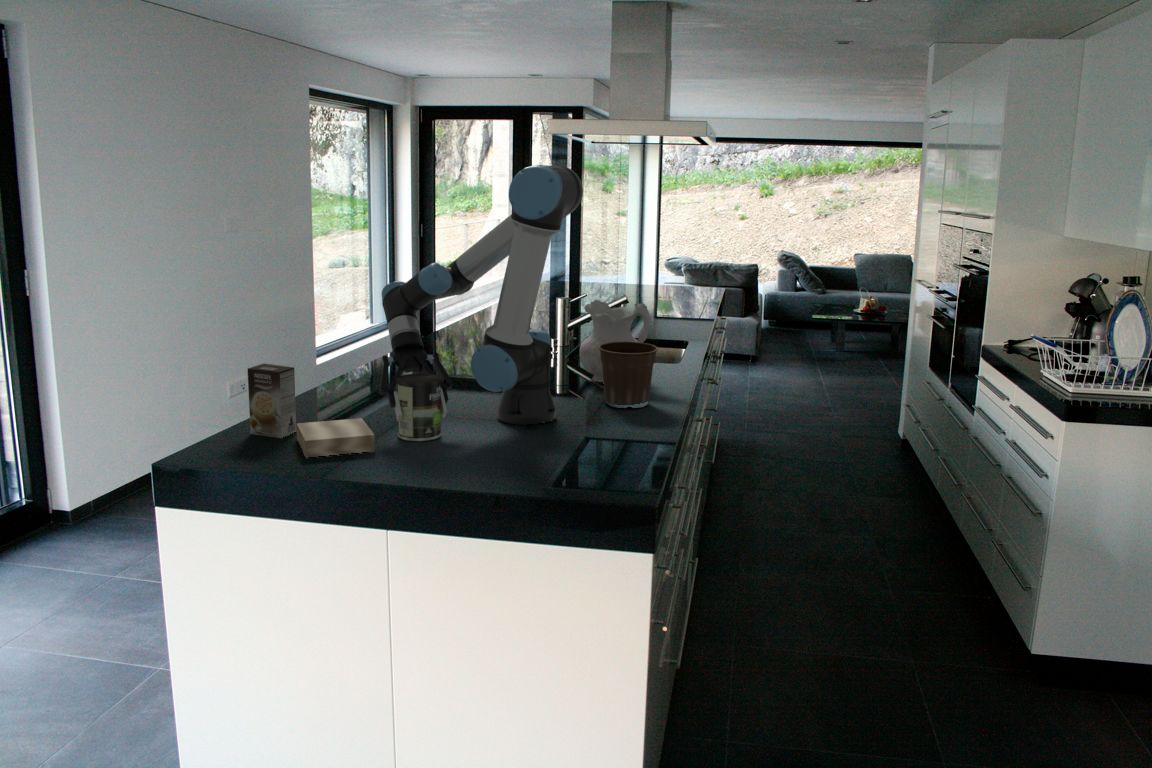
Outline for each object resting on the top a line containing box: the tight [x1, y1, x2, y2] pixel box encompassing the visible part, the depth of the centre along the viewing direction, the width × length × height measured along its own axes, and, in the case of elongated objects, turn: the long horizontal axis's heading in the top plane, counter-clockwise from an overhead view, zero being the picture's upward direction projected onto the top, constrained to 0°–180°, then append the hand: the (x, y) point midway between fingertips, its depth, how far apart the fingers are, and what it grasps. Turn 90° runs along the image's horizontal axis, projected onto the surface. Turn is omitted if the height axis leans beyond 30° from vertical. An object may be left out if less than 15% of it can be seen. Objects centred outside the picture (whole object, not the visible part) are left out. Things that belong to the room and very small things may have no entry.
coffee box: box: [247, 363, 297, 439], centre depth 223 cm, size 9×6×16 cm
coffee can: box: [396, 373, 442, 442], centre depth 224 cm, size 10×10×14 cm
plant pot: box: [598, 342, 659, 405], centre depth 259 cm, size 16×16×16 cm
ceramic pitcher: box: [579, 299, 651, 382], centre depth 286 cm, size 22×20×25 cm
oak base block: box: [296, 417, 376, 459], centre depth 216 cm, size 15×15×4 cm
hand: (422, 416), depth 222 cm, fingers closed on coffee can, 10 cm apart
